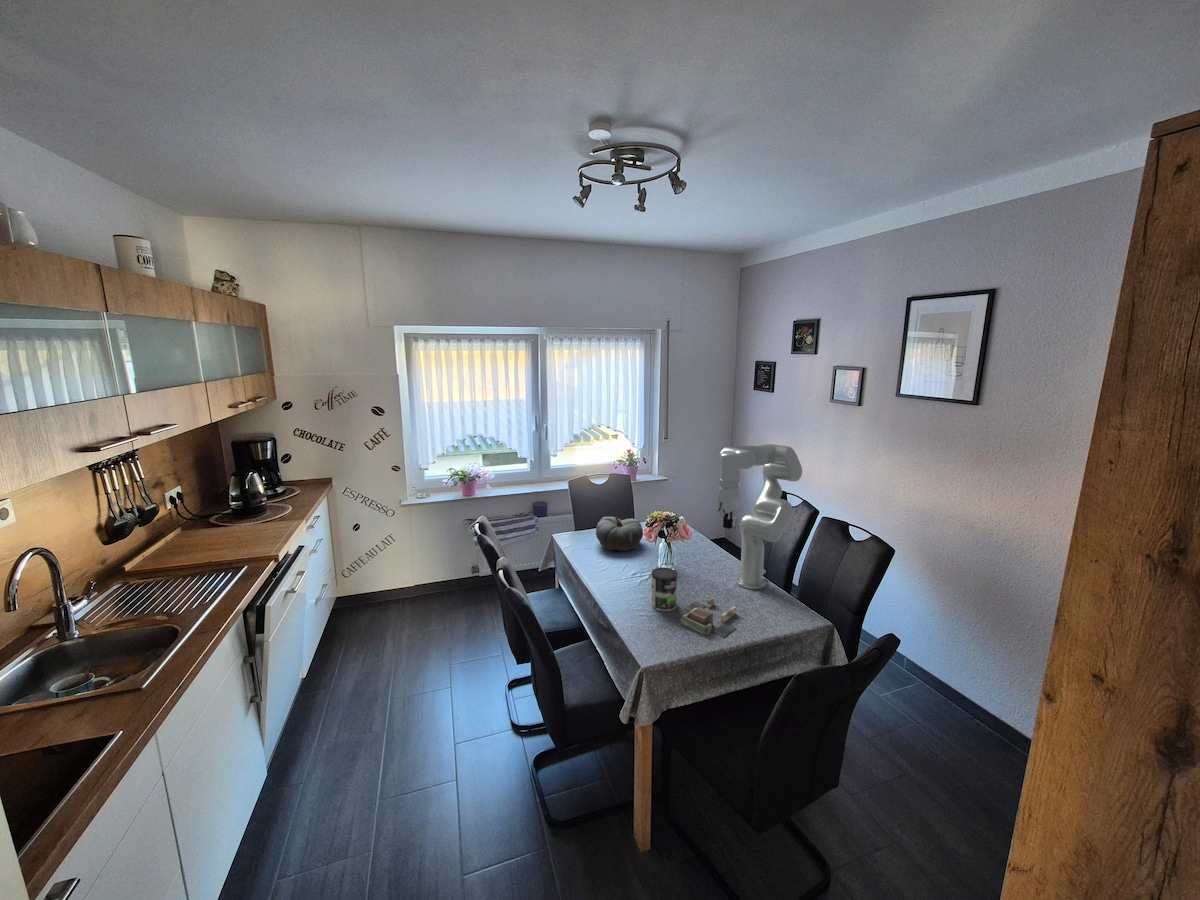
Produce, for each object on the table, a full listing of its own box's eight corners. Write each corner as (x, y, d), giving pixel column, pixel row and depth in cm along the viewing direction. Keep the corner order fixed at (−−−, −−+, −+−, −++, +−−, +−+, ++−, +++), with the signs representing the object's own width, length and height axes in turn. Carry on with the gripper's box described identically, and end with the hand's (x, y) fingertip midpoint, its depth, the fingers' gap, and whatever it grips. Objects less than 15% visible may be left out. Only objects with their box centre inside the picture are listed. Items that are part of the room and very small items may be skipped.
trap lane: (700, 598, 199) (700, 592, 199) (748, 618, 184) (749, 611, 183) (669, 618, 185) (669, 611, 184) (719, 641, 170) (719, 634, 169)
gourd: (590, 534, 266) (595, 505, 261) (633, 537, 271) (639, 509, 266) (597, 556, 242) (603, 525, 237) (644, 560, 247) (651, 530, 243)
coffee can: (681, 606, 194) (682, 573, 191) (663, 614, 188) (663, 581, 185) (664, 596, 202) (664, 565, 199) (645, 603, 196) (646, 571, 193)
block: (699, 618, 185) (699, 606, 184) (712, 624, 181) (713, 612, 180) (690, 624, 181) (690, 612, 180) (703, 631, 177) (704, 618, 176)
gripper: (730, 478, 195) (729, 520, 199) (710, 485, 185) (709, 530, 189) (747, 481, 190) (745, 525, 194) (727, 489, 180) (725, 535, 183)
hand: (727, 527), depth 191 cm, fingers closed
